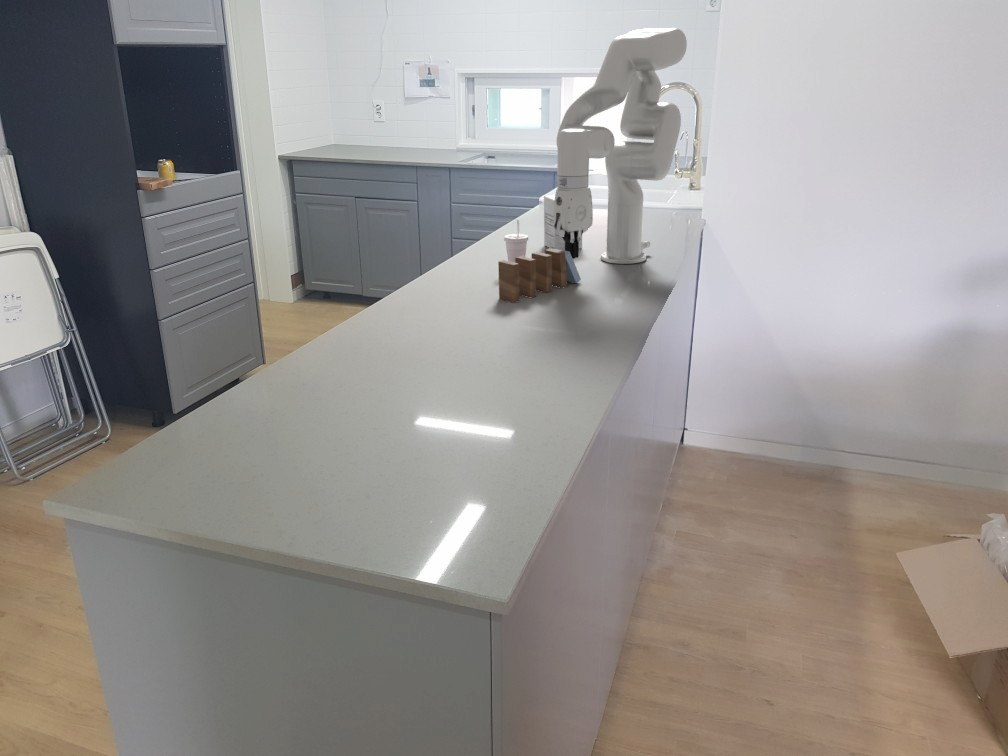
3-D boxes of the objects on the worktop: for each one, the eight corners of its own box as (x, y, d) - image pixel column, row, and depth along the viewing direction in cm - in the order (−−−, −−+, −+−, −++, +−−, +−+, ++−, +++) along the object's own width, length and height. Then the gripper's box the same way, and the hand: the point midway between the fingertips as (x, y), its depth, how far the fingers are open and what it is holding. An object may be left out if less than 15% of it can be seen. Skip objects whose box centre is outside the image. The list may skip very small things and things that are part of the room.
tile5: (504, 297, 187) (504, 260, 183) (519, 301, 183) (518, 263, 180) (499, 298, 186) (498, 261, 182) (513, 302, 182) (513, 265, 179)
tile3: (537, 287, 194) (536, 252, 190) (551, 291, 190) (551, 255, 187) (531, 289, 193) (531, 253, 189) (546, 293, 189) (546, 256, 186)
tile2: (552, 282, 197) (550, 248, 193) (566, 286, 194) (564, 251, 190) (547, 284, 196) (544, 250, 192) (562, 288, 193) (559, 253, 189)
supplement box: (570, 242, 240) (571, 193, 234) (582, 248, 232) (583, 197, 226) (543, 245, 237) (543, 195, 231) (554, 251, 229) (554, 200, 224)
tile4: (521, 292, 190) (520, 256, 187) (535, 296, 187) (535, 259, 184) (515, 293, 189) (515, 257, 186) (530, 297, 186) (530, 260, 182)
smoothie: (526, 275, 205) (525, 222, 199) (502, 275, 206) (501, 221, 200) (530, 269, 210) (530, 217, 205) (507, 268, 212) (506, 217, 206)
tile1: (566, 275, 200) (554, 248, 194) (580, 279, 197) (569, 251, 191) (562, 280, 200) (550, 253, 194) (576, 284, 196) (565, 256, 190)
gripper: (563, 187, 182) (562, 265, 189) (604, 180, 191) (602, 254, 198) (540, 184, 187) (540, 260, 194) (581, 178, 196) (580, 250, 203)
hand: (571, 257), depth 196 cm, fingers closed
